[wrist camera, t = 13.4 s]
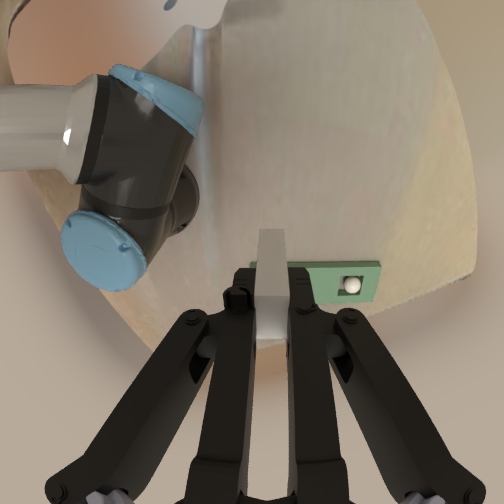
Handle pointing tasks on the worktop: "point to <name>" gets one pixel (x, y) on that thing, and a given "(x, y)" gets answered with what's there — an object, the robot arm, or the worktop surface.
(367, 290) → the green rectangular board
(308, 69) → the worktop surface
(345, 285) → the white ball
